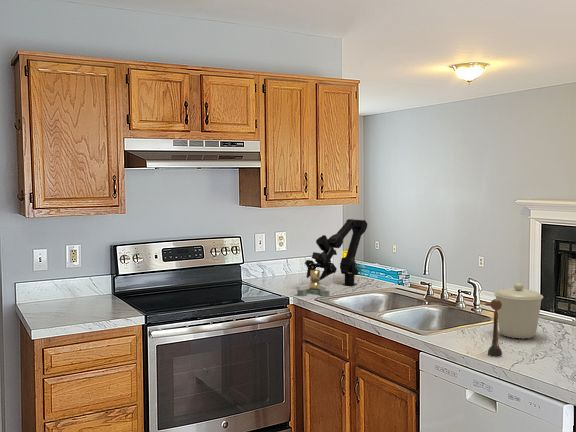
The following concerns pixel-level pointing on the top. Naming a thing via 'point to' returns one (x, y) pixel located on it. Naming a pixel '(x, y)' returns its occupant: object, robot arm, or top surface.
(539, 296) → the canister
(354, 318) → the top surface
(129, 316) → the top surface
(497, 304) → the wooden tabletop sculpture
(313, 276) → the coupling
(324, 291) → the shaft bench
